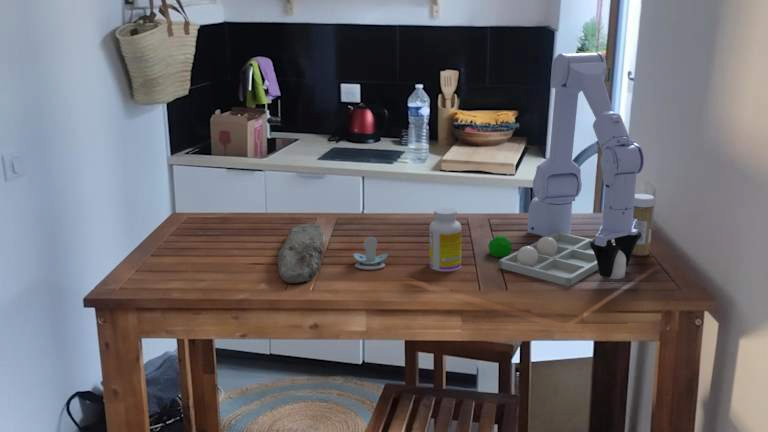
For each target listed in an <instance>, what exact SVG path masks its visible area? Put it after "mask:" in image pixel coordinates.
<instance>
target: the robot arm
mask: <svg viewBox="0 0 768 432" xmlns="http://www.w3.org/2000/svg"><path fill="white" fill-rule="evenodd" d="M607 68H608V66H607V60H606V58H605V57H604V55H603V53H602V52H600V51H595V52H585V53H584V52H581V53H558V54H557V55H556V56H555V58H553V60H552V62H551V72H550V74H551V75H550V88H552V89H554V99H553V100H554V101H553V109H552V121H551V122H552V123H551V131H550V132H551V133H550V134H551V135H550V137H551V138H550V146H549V156H548V158H547V159H545V160H544V161H542V162H541V163H540V164H538V165H537V166H536V169H535V174H534V175H535V176H534V177H533V181H532V190H533V193H534V196H535V197H533V198H532V200H531V201H530V203H529V206H528V214H527V215H528V217H527V218H528V220H527V233H529V234H533V235H538V236H541V237H542V238H543V237H548V236H550V235H552V234H554V233H556V232H560V233H565V234H569V235H571V232H572V231H571V228H572V211H573V210H572V209H573V202H575V201H576V198H577V197H579V195H580V193H581V191H582V186H583V184H582V175H581V173H582V172H581V167H580V166H579V165H578V164H577V163H576V162H575V161H573V154H574V153H573V151H574V142H575V133H576V132H575V131H576V124H577V123H576V122H577V112H578V111H577V110H578V102H579V101H578V100H579V94H580V93H581V92H582V95H584V98H585V100H586V102H587V104H588V106H589V108H590V110H591V112H592V114H593V117H594V119H595V120H594V121H593V123H592V129H593V132H594V133H595V137H596V139H597V142H598V144H599V147H600V150H601V152H602V154H601V157H600V167H601V172H602V182H603V183H604V194H603V195H604V196H603V207H602V209H603V210H602V223H601V225H600V228H599V230H598V233H597V234H595V236H594V239H592V241H591V242H590V246H591V248H592V250H593V252H594V254H595V256H596V260H597V264H598V273H599V276H600V277H604V278H607V277H608V278H607V279H610V278H609V277H611V275H612V271H613V266H614V261H615V258H616V255H617V253H618V251H619V250H620V251H622V252H623V253H624V255H625V257H626V268H627V267H628V266H629V264H630V262H631V258H632V255H633V254H632V252H633V250H634V247H635V245H636V243H637V242H638V240H639V239H640V237H641V232H638V230H637V221H638V220H637V219H633V211H634V199H635V194H636V186H637V185H636V184H637V174H640V173H642V170H643V168H644V164H645V158H644V157H645V156H644V153H643V149H642V147H641V145H640V144H638V143H636V142H635V140H634V139H631V138H630V135H629V133H628V130H627V128H626V126H625V123H624V121H623V119H622V116H621V114H620V113H618V112H614V111H613V107H612V104H611V101H610V100H611V99H610V97H609V93H608V89H607V87H606V83H605V79H606V76H607V70H608V69H607ZM612 241H613V242H614V243H613V242H612ZM613 244H615V245H613Z"/></svg>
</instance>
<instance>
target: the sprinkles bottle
mask: <svg viewBox="0 0 768 432" xmlns="http://www.w3.org/2000/svg"><path fill="white" fill-rule="evenodd" d="M654 206H655V197H654V195H651V194H648V193H647V194H646V193H635V199H634V211H633V219H637V220H638V221H637V230H638V232H641V237H640V239H639V240H638V242H637V243H636V245H635V247H634V250H633V252H632V255H633V256H648V255H649V254H650V250H651V249H650V248H651V247H650V246H651V241H652V222H653V210H654V209H653V208H654Z"/></svg>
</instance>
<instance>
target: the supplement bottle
mask: <svg viewBox="0 0 768 432" xmlns="http://www.w3.org/2000/svg"><path fill="white" fill-rule="evenodd" d="M433 217H434V221H431V223H430V224H429V268H431V269H432V270H434V271H437V272H455V271H457V270H459V269H461V268H462V225H461V223H460V222H459V221H457V217H458V211H457V209H456V208H452V207H439V208H435V209H434V211H433Z"/></svg>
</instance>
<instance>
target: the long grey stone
mask: <svg viewBox="0 0 768 432" xmlns="http://www.w3.org/2000/svg"><path fill="white" fill-rule="evenodd" d="M323 235H324V232H323V231H322V230H321V224H319V225H318V224H317V223H314V222H311V223H310V222H306V223H301V224H299V225H297V226H294V227H293V228H292V229H290V231H289V232H288V236H287V238H286V240H285V241H283V246H282V247H281V249H280V250H278V251H279V252H278V254H277V259H276V261H277V263H276V264H277V265H278V266H277V269H278V274H279V276H280V278H281V279H282V280H283V281H284V282H286V283H288V284H299V283H303V282H309V281H310V280H311V279H312V278H313V277H316V275H317V272H318V271H319V270H320V266H321V265H322V263H321V262H322V255H323V253H324V249H323V245H324V239H323Z"/></svg>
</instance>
